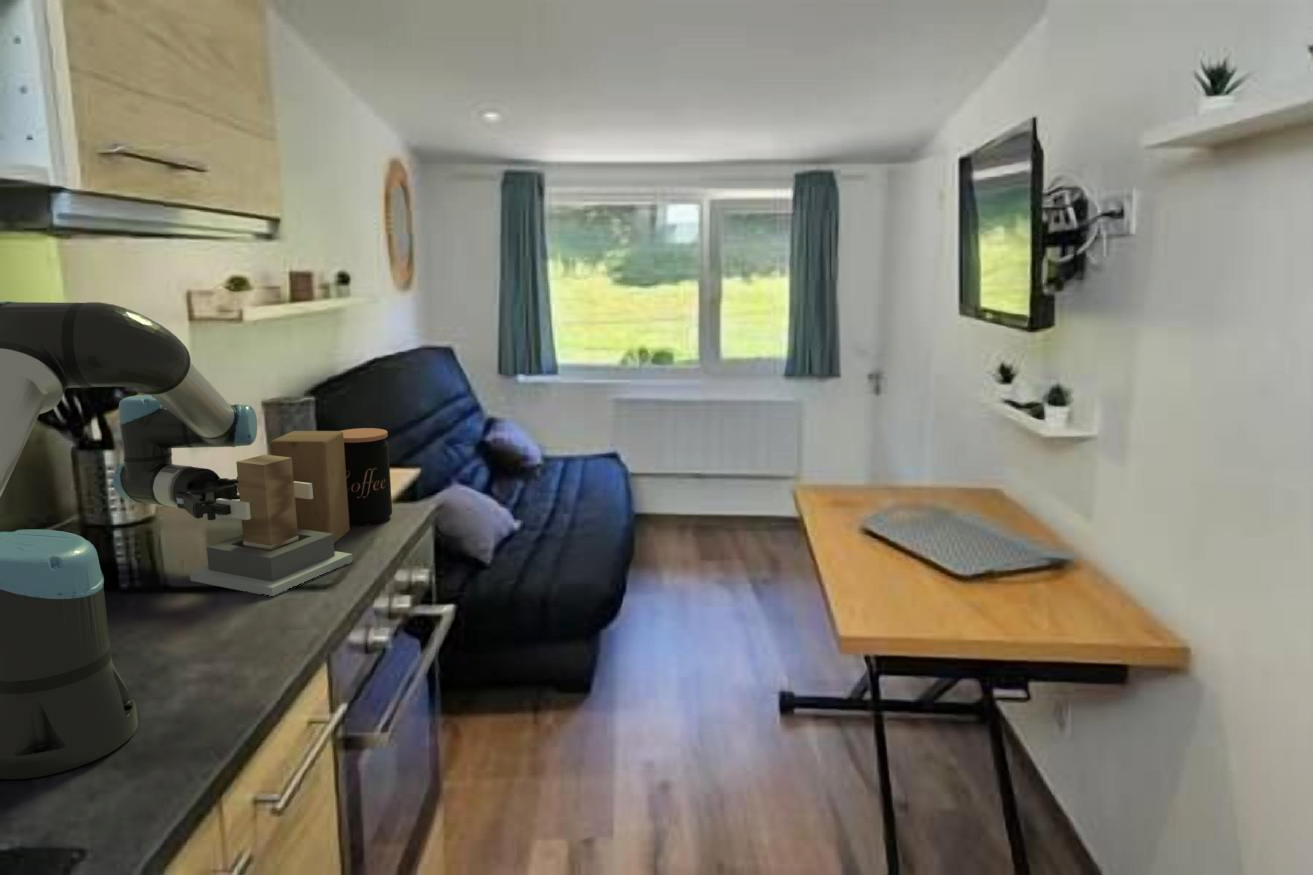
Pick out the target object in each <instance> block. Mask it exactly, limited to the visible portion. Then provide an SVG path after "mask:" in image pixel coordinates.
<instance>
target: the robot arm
mask: <svg viewBox="0 0 1313 875" xmlns="http://www.w3.org/2000/svg"><path fill="white" fill-rule="evenodd" d="M100 387H102V388H103V387H105V388H107V387H108V388H110V387H120V388H130V389H132V391H135V392H136V393H140V394H139V395H137V394H136V395H130V396H127V397H124V398H122V399H121V400H120V401H119V404H118V412H119V413H118V415H119V416H118V418H119V422H118V426H119V430H120V438H121V443H122V444H121V446H122V452H123V462H122V463H120V464H119V465H118V466H117V467H116V468H115V471H114V474H113V476H112V485H113V488H114V490H115V492H116V493H117V494H118V496H120V497H122V498H123V499H125V500H128V501H133V502H135V503H138V504H144V505H145V504H148V505H149V504H150V505H156V506H164V507H171V508H176V509H177V511H182V510H184V511H185V512H187V513H188V514H189V515H191V516H192V517H193V518H194V519H201V518H204V515H206V516H207V521H215V520H216V519H217V516H220V517H226V518H231V519H238V520H242V519H244V520H248V519H251V516H250V505H249V502H242V501H240V497H239V494H238V491H239V486H238V475H237V476H236V478H232V479H230V478H225V477H224V478H223V477H222V478H221V477H220V476H219V474H217V473H216V472H215V471H214V470H212V469H210V468H204V467H197V466H191V465H183V464H175V463H174V464H173V459H172V456H173V452H172V449H187V448H188V449H189V448H190V449H192V448H230V447H231V448H235V447H243V446H244V447H245V446H247V447H248V446H251V445H252V444H253V443H254V442H255V441H256V438H257V436H258V435H257V432H258V419H257V414H256V411H255V409H254V408H253V407H252V406H251V405H248V404H239V403H235V404H231V403H229V402H228V401H227V400H226V399H225V397H224V396H222V394H221V393H220V392H219V391H218V390H217V389H216V388H215V387H214V386H213V384H211V382H210V381H209V380H208V379H207V378H206V377H205V376H204V375H203V374H202V373H201V372H200V371H199V370H198V368H197V367H196V366H195V365H194V364H193V363H192V360H191V355H190V352H189V350H188V347H187V346H186V345H185V344H184V343H183V342H182V341H181V340H180V339H179V337H178V336H176V334H174V333H172V331H170V330H169V329H168V328H167V327H165V326H163V325H162V324H160V323H158V322H157V321H155V320H153V319H151V318H149V317H147V316H146V315H143V314H141V313H139V312H136V311H134V310H131V309H128V308H125V307H123V306H119V305H116V304H111V303H106V302H100V301H99V302H97V301H95V302H94V301H92V302H91V301H86V302H37V301H36V302H31V301H30V302H24V301H23V302H17V301H6V300H5V301H0V498H1V496H2V495H3V493H4V490H5V489H6V485H7V483H8V482H9V480H10V478H11V475H12V473H13V471H14V469H15V467H16V465H17V462H18V460H19V459H20V457H21V455H22V452H23V451H24V448H25V445H26V443H27V441H28V439H29V437H30V435H31V432H32V431H33V429H34V426H35V425H36V422H37V420H38V418H39V415H41V414H44V413H45V414H46V413H47V412H49V411H52V410H53V409H55V408H56V407H57V406H58V405H59V404H60V401H61V400H62V398H63V396H64V394H65V393H66V389H68V388H69V389H71V388H100ZM294 493H295V497H296V498H303V499H313V489H312V483H305V482H298V481H294ZM216 515H217V516H216ZM104 583H105V578H104V574H103V572H102V569H101V565H100V560H99V555H98V552H97V549H96V548H95V546H94V545H93V544H92V543H91V542H90V540H87V539H86V538H84V537H83V536H80V535H78V534H76V533H71V532H67V531H63V530H62V531H60V530H53V529H36V528H35V529H17V530H15V531H0V779H1V780H23V779H24V780H26V779H34V778H40V777H47V776H50V775H55V774H59V773H63V772H67V771H69V770H73V769H76V768H79V767H82V766H84V765H87V764H89V763H92V762H94V761H97V760H99V759H101V758H103V757H105V756H107V755H109V754H111V753H112V752H114V751H115V750H117V749H118V748H120V747H121V746H123V745H124V744H125V743H127V742H128V741H129V740H130V739H131V738H132V737H133V735H134V734H135V733H136V731H137V729H138V727H139V721H138V714H137V713H138V712H137V711H138V710H137V706H136V705H137V704H136V703H135V700H134V699H133V697H132V695H131V694H130V692H129V690H128V688H127V686H126V685H125V683H124V681H123V679H122V678H121V676H120V674H119V672H118V671H117V669H116V667H115V665H114V663H113V659H112V650H111V644H110V634H109V625H108V617H107V614H108V613H107V607H106V599H105V590H104V589H105V588H104Z"/></svg>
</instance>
